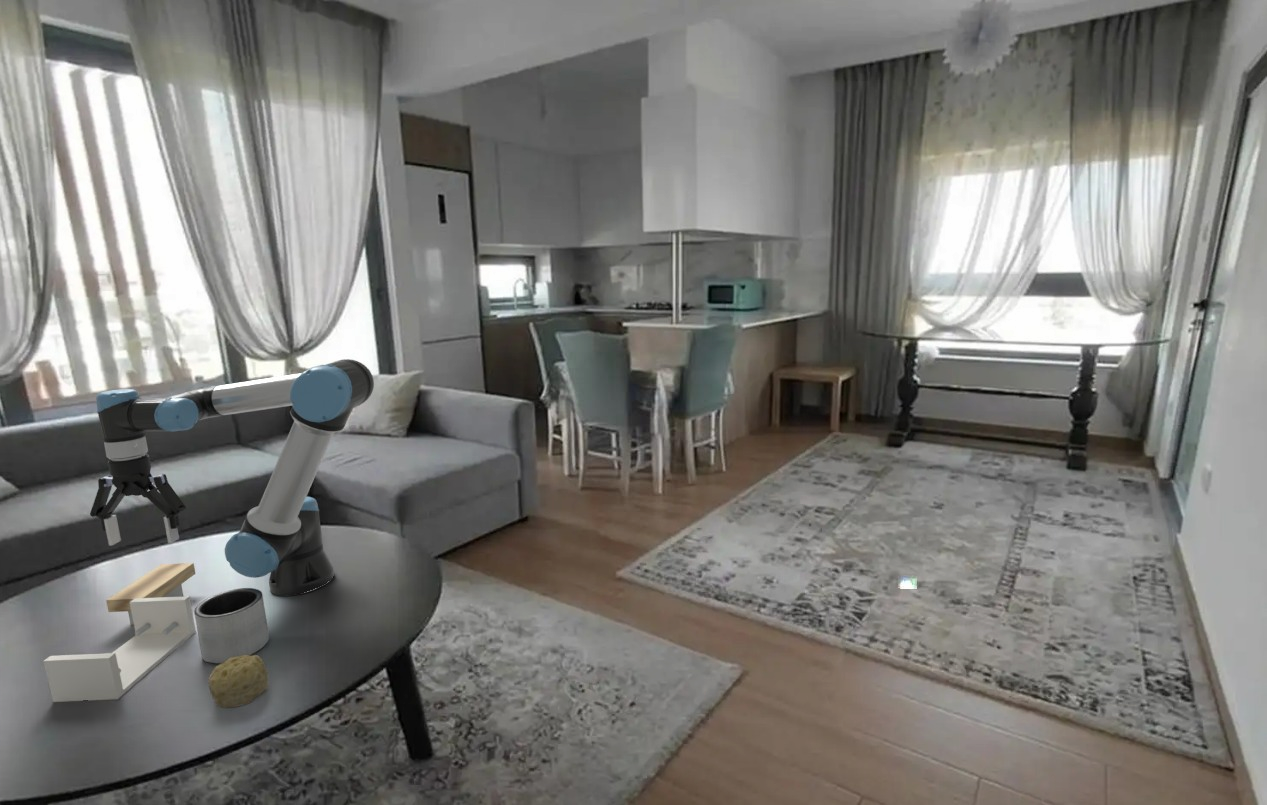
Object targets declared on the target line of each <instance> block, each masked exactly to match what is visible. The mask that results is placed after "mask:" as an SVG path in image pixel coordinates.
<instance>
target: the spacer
mask: <svg viewBox="0 0 1267 805" xmlns="http://www.w3.org/2000/svg"><path fill="white" fill-rule="evenodd" d="M164 597H185V596H184V592H183V586H182V584H181V585H179V586H178V587H177V588H175V589H174V590H172V591H171V592H170V593H168V594H167V595H166V596H164ZM127 614H128V619H129V624H130V625H134V622H133V617H132V612H131V611H127Z"/></svg>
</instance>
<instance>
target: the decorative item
mask: <svg viewBox="0 0 1267 805" xmlns="http://www.w3.org/2000/svg"><path fill="white" fill-rule="evenodd" d="M264 662H265V661H264V660H263V659H262V658H261V657H260V656H259V655H258V654H257V655H256V654H252V655H250V656H249V655H242V656H240V657H239V656H238V657H231V658H229V659H228V660H226V661H225V662H223V663H221V664H218V665H216V666H215V667H214V668H213V670H212V671H211V673H210V675H209V677H208V689H209V691H210V692H209V694H210V695H211V696H212V699H213V700H214V704H215V705H216V706H218V707H220V708H226V709H230V708H232V709H233V708H237V707H240V706H244V705H247V704H251V703H252V701H253V700H254V699H255V698H257V697H258V696H260V695H261V694H262V693H263V692H265V691H267V690H268V688H269V684H268V672H267V667H266V666H265V663H264Z"/></svg>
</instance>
